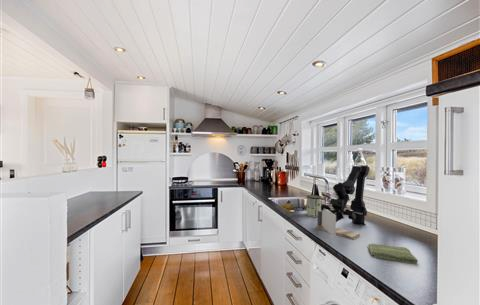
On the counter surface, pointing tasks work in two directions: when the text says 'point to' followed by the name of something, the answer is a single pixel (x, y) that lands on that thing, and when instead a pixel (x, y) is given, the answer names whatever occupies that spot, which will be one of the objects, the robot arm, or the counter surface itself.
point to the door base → (338, 231)
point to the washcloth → (392, 253)
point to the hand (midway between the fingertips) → (332, 223)
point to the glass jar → (313, 205)
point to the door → (328, 221)
